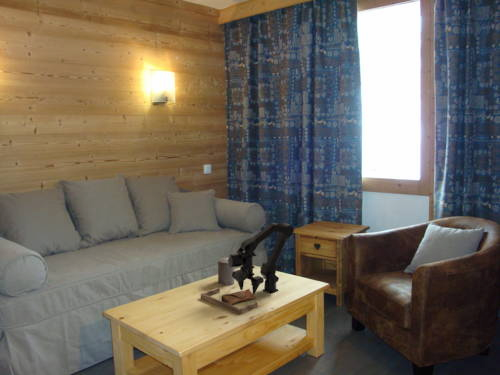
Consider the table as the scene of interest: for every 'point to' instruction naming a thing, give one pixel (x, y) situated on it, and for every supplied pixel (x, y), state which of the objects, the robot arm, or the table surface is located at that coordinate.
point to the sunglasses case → (238, 297)
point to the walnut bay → (225, 305)
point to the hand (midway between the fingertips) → (247, 292)
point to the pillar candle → (225, 272)
